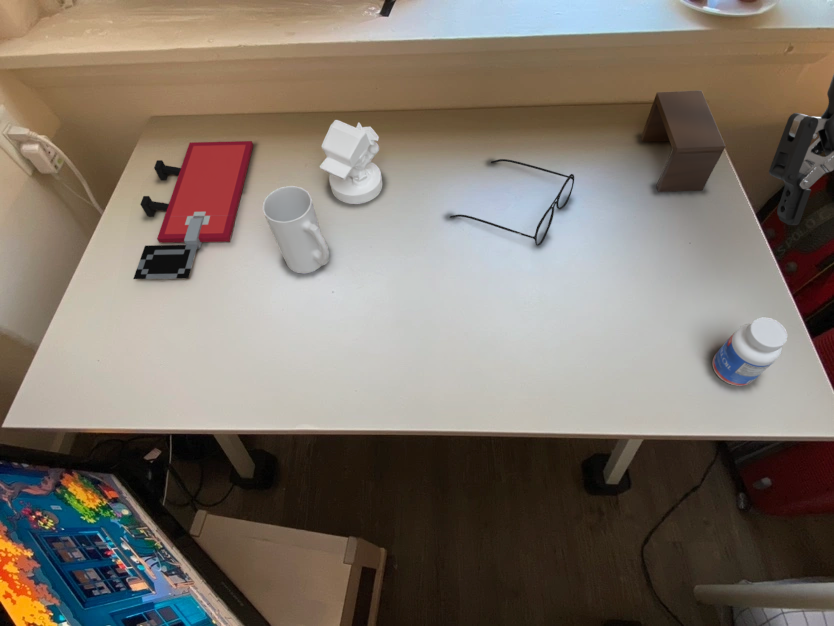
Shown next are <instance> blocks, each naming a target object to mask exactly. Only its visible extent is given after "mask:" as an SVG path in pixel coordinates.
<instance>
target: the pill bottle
mask: <svg viewBox="0 0 834 626" xmlns="http://www.w3.org/2000/svg"><path fill="white" fill-rule="evenodd" d="M787 340H788V332H787V330H786V327H785V326H783V324H782V323H781V322H780V321H778V320H776V319H774V318H770V317H765V316H764V317H763V316H762V317H758V318H755V319H754V320H752V322H750V323H745V324H743V325H740V326H739V327H738V328H737V329H736V330H735V331H734V332H733V333H732V335H730V336H729V338H728V339H727V340H726V341H725V343H723V344H722V346H721V347H720V348H719V349H718V350H717V351H716V352H715V354H714V356H713V357H712V369H713V371H714V373H715V374H716V375H717V377H718V378H719V379H720V380H722V381H723V382H724V383H726V384H729V385H732V386H737V387H741V386H747V385H749V384H751V383H752V382H754V381H755V380H756V379H757V378H758V377H760V376H761V375H762V374H763V373H765V371H766V370H767V369H769V368H770V367H771V366H772V365H773V364H774V363H775V362H776V361H777V360H778V359H779V358H780V357H781V354H782V353H783V345H785V344H786V342H787Z"/></svg>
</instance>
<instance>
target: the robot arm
mask: <svg viewBox="0 0 834 626" xmlns="http://www.w3.org/2000/svg"><path fill="white" fill-rule="evenodd" d="M826 95H827V98H828V105H827V107H826V109H825V111H824V112H823V113H822V115H820V116H811V115H807V114H804V113H800V112H793V113H792V114H790V115H789V116H788V119H787V121H786V124H785V126H784V129H783V132H782V135H781V137H780V140H779V142H778V145H777V147H776V151H775V154H774V156H773V158H772V161H771V164H770V167H769V170H768V174H769V175H770V176H772V177H774V178H776V179H778V180H781V181H782V182H784V188H783V190H782V194H781V197H780V201H779V203H778V206H777V209H776V214H777V216H778V219H779V220H780V221H781V222H783V223H784V224H786V225H788V226H798V225H799V224H800V223H801V221H802V217H803V215H804V212H805V208H806V206H807V203H808V201H809V197H810V196H811V192H812V189H811V187H812V186H813V185H814V184H815V183H817V181H819V180H820V178H822V177H823V176H824V175H825V174H827V173H831V172H833V171H834V74H833V75H832V78H831V81H830V84H829V86H828V89H827V92H826ZM815 139H816V140H815ZM812 140H815V141H814V142H812ZM823 153H824V155H825V156H822V154H823Z"/></svg>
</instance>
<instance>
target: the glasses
mask: <svg viewBox="0 0 834 626" xmlns="http://www.w3.org/2000/svg"><path fill="white" fill-rule="evenodd" d="M498 162H505V163H506V162H507V163H512V164H517V165H520V166H523V167H528V168H530V169H531V168H532V169H535V170H537V171H542V172H546V173H550V174H553V175H555V176H561V177H564V178H566V179H565V181H564V183H563V185H562V186H561V188H560V189H559V192H558V193H557V195H556V196H555V198H554V200H553V201H552V202H551V204H550V205H549V207H548V208H547V210H546V211H545V212H544V213H543V215H542V217H541V218H540V220H539V222H538V223H537V226H536V228H535V233H534V236H532V235H530V234H527V233H523V232H521V231H517V230H515V229H511V228H508V227H505V226H502V225H499V224H496V223H493V222H490V221H487V220H484V219H481V218H478V217H474V216H472V215H471V216H470V215H466V214H453V215H449V218H450V219H451V218H467V219H470V220H474V221H477V222H480V223H483V224H486V225H489V226H492V227H495V228H499V229H502V230H504V231H506V232H507V231H508V232H511V233H513V234H516V235H519V236H522V237H527V238H529V239H532V240H534V243H535V245H536V246H537V247H538V246H540V245H541V244H542V243H543V242H544V241H545V239H546V236H547V235H548V232H549V230H550V227H551V225H552V222H553V219H554V215H555V206H556V208H557V210H561V209H564V208H565V206H566V205H567V204H568V202H569V200H570V197H571V194H572V192H573V189H574V184H575V174H573V173H570V174H569V175H567V174H563V173H560V172H557V171H554V170H551V169H546V168H543V167H539V166H535V165H532V164H529V163H525V162H521V161H517V160H512V159H506V158H499V159H496V160H492V161H491V162H490V163H491V164H493V163H498ZM569 180H571V187H570V191H569V194H568V195H567V198H566V200H565V202H563V205H561V206H559V202H560V199H561V195H562V193H563V191H564V189H565V187H566V186H567V184H568V183H569ZM550 211H551V213H550ZM549 213H550V215H549V216H550V217H549V220H548V223H547V227H546V229H545V232H544V234H543V236H542V238H541V239H540V241H539V243H538V234H539V230H540V228H541V226H542V224H543V222H544V220H545V218H546V217H547V215H548V214H549Z"/></svg>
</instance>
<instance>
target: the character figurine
mask: <svg viewBox="0 0 834 626" xmlns="http://www.w3.org/2000/svg"><path fill="white" fill-rule="evenodd" d="M379 138H380V136H379V135H378V134H377V133H376V131H375V130H374V129H373V128H372V127H371V126H362V124H361V123H360V122H359V121H358V122H357V124H356V126H353V125H352V124H349V123H346V122H343V121H341V120H339V119H334V120H333V122H332V123H331V124H330V126H329V128H328V131H327V133H326V135H325V137H324V139H323V141H322V142H321V143H322V144H321V149H322V151H323V153H324V154H325V156H326V158H325V159H324V160H323V161H322V163H321V164H320V165H319V168H320V170H321V171H324V172H326V173H328V174H329V177H328V181H329V185H330V189H331V192H332V194H333V196H334V197H335V198H336V199H337V200H338V201H340V202H343V203H345V204H350V205H361V204H365V203H368V202H371V201H373V200H374V199H375V198H377V197H378V196H379V194H380V193H381V191H382V189H383V178H382V172H381V169H380V168H379V166H377V164H376V163H374V162H372V160H373V159H374V158H375V156H376V154H378V153H379V152H380V145H379V144H378V143H377V142H379Z"/></svg>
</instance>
